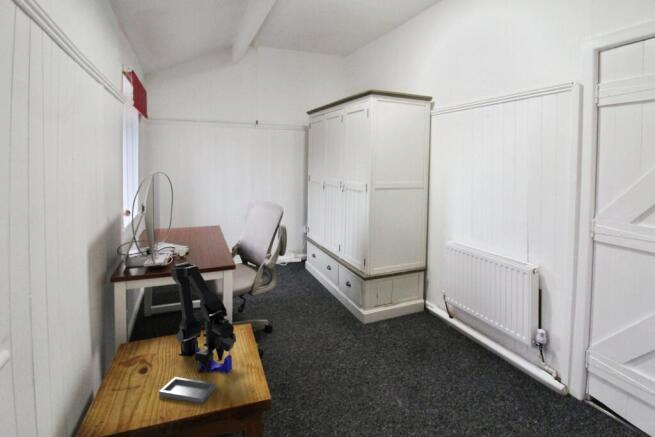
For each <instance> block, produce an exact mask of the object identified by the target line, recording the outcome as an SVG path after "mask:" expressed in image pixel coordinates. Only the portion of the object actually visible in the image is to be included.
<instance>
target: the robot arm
mask: <svg viewBox="0 0 655 437" xmlns="http://www.w3.org/2000/svg"><path fill="white" fill-rule="evenodd" d="M170 275H171V277H172V280H173V281H174V282H175V283H176V285H177V289H178V295H179V303H180V309H181V316H182V317H181V318H182V319H181V321H180V323H179V331H178V332H177V334H176V335H175V338H176V340H177V342H179V343H180V351H179V353H178V355H181V356H186V357H187V356H188V357H193V360H194V361H195V362H199V364H200V363H201V364H202V366H203V367H204V369H205V370H206V371H205V372H206V373H207V374H210V373H211V372H210V366H211V361H212V360H214V359H215V358H214V355H215V354H214V351H216V356H217V359H218V361H222V360H223V359H224V358H223V356H224V353H225V352H228V353H229V352H230V351H231V349H233V348H234V345H235V343H236V342H237V338H236V333H234V331H235V328H234V324H232V323H231V322H230V320H229V319H227V318H225V317H227V316H228V310H227V308H226V306H225V305H224V302H223V301H222V300H223V299H221V298H220V297H219V295H218V294H217V293H215V292H213V291H212V290H211V289H210V287H209V286H208V284H207V282H206V281H205V279H204V277H203V275H202V274H201V271H200V269H199V266H198V265H195V264H193V263H190V262H188V261H187V262H182V263H177V264H174V265H172V267H171V268H170ZM191 286H192V287H193V289H194V292H195V293H196V294H197V296H198V298H199V307H200V310H201V312H202V317H203V318H204V324H205V326H204V328H205V332H204V333H203V335H202V329H203V328H202V325H201V321H200V319H198V318H197V317H196V315H195V310H194V309H195V308H194V302H193V295H192V288H191ZM201 335H202V336H203V337H205V342H204V343H203V346H204V347H206V349H204V348H200V347H199V341H198V338H201Z"/></svg>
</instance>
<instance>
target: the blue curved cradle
mask: <svg viewBox="0 0 655 437" xmlns="http://www.w3.org/2000/svg"><path fill="white" fill-rule="evenodd" d="M232 357H233V356H232V355H231V354H229V355H227V356H225V357H224V358H223V363H219V362H216V361H215V360H214V359H213V360H212V361H211V366H210V373H214V372H215V371H217V372H220V373H225V374H229V373H230V372H231V371H232V370H233V358H232ZM199 370H200V371H204V372H206V370H205V369H204V367H203V366H202V364H201V363H200V362H199Z"/></svg>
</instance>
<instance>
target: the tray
mask: <svg viewBox="0 0 655 437" xmlns="http://www.w3.org/2000/svg"><path fill="white" fill-rule="evenodd" d="M216 384H217V383H215V382H209V381H203V380H196V379H192V378H191V379H190V378H184V377H178V376H174V377H173V378H172V379H171V380H170V381H168V383H167V384H165V385H164V386H163V387H162V388H161V389H160V390H158V392H159V393H158V396H159V397H160V398H166V399H173V400H178V401H181V402H182V401H183V402H188V403H194V404H200V405H203V404H204V403H205V402H206V401H207V399H209V397H210V396H211V395H212V394H213V393H214V391H215V390H216V389H217V385H216Z"/></svg>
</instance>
